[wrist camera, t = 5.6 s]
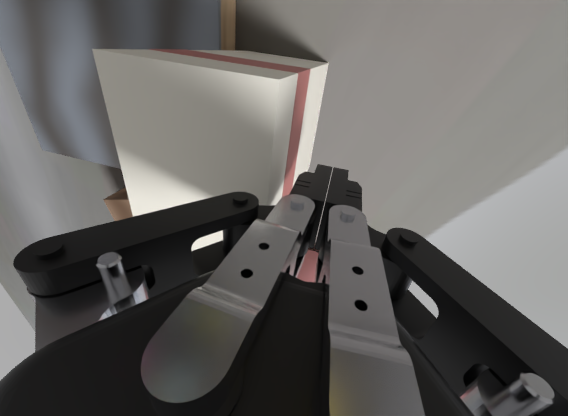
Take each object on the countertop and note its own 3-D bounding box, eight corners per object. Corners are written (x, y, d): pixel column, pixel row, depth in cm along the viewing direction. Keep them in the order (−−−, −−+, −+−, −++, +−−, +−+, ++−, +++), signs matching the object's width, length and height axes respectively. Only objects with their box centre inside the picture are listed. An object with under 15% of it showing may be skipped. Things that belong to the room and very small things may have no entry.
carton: (328, 62, 21) (279, 78, 8) (309, 166, 25) (260, 275, 13) (246, 50, 22) (91, 48, 9) (242, 152, 27) (138, 241, 14)
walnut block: (169, 179, 31) (140, 199, 27) (183, 215, 33) (157, 238, 29) (136, 180, 32) (103, 199, 28) (151, 214, 35) (123, 236, 31)
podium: (235, -4, 20) (217, -12, 17) (233, 180, 29) (221, 193, 26) (7, -31, 23) (-36, -41, 21) (67, 142, 32) (42, 149, 29)
